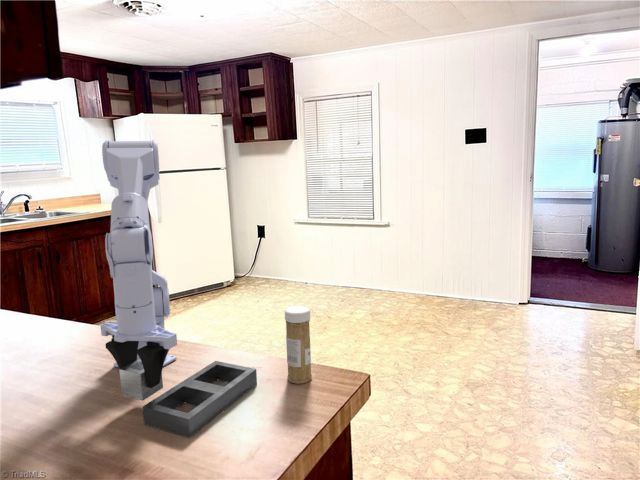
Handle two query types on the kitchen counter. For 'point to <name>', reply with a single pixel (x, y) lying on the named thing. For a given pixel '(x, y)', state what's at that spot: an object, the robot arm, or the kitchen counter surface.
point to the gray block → (136, 381)
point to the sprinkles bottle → (298, 344)
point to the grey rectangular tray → (199, 398)
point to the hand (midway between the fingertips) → (142, 382)
